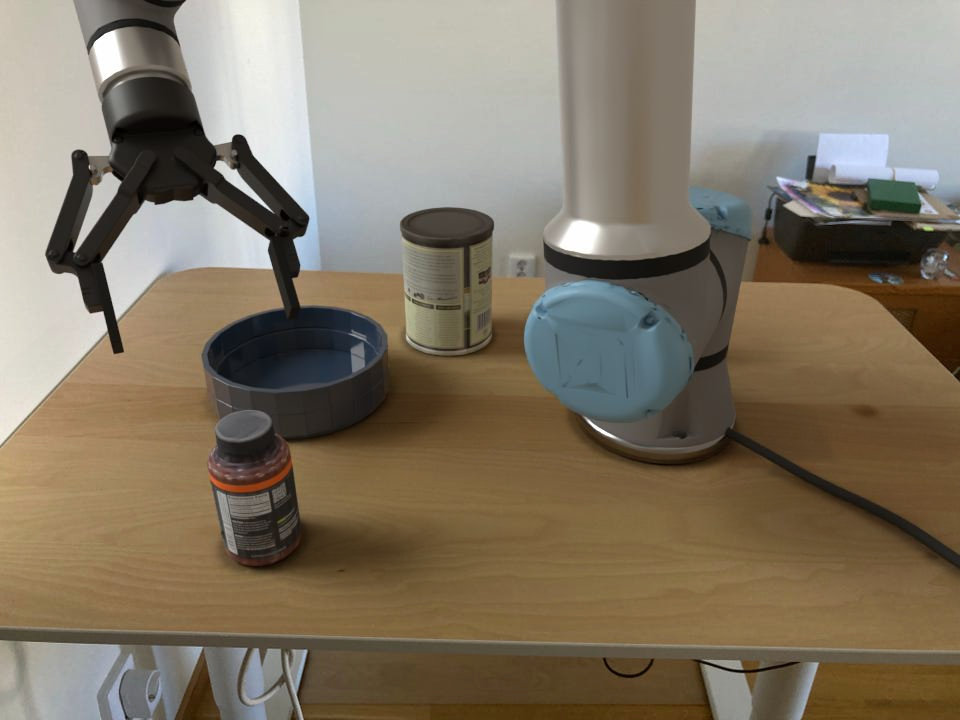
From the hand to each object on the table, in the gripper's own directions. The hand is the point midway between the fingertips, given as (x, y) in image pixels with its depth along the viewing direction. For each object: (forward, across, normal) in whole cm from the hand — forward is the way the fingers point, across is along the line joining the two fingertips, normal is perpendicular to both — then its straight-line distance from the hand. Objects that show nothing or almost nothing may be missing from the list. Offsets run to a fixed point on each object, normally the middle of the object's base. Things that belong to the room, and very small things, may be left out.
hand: (209, 330), depth 62 cm
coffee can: (-1, -28, -21) cm, 35 cm away
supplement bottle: (+17, 0, -3) cm, 17 cm away
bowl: (+2, -9, -18) cm, 20 cm away
